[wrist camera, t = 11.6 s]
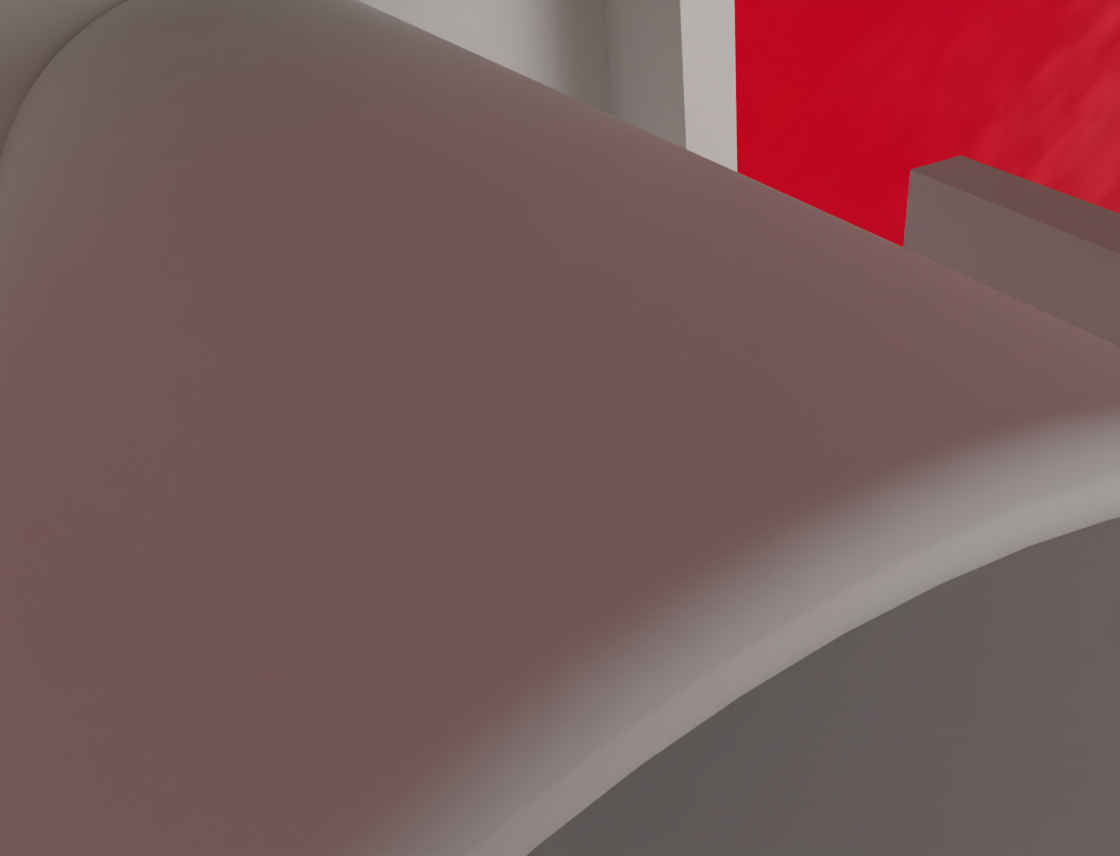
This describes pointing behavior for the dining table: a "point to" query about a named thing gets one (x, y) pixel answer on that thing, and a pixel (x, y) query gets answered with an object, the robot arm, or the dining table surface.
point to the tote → (505, 55)
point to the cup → (515, 481)
